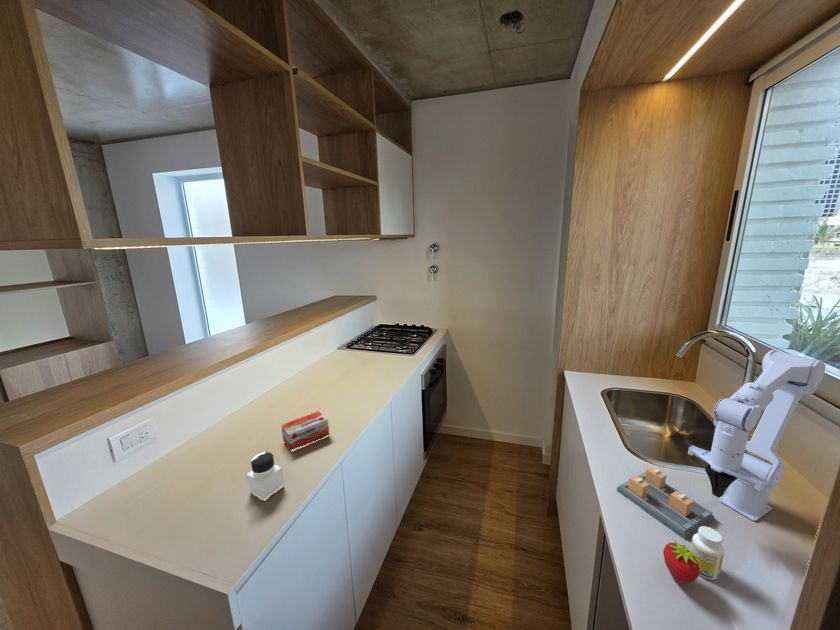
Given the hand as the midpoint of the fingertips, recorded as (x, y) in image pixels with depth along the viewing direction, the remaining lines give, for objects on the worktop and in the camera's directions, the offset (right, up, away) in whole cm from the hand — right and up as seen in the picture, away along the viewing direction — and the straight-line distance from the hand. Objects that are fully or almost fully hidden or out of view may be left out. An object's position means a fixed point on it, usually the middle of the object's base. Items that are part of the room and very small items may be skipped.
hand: (717, 494), depth 83 cm
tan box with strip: (-5, -7, +6) cm, 11 cm away
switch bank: (-7, -8, +10) cm, 14 cm away
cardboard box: (-5, -5, +15) cm, 17 cm away
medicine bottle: (-122, -9, +19) cm, 124 cm away
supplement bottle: (-10, -13, -8) cm, 18 cm away
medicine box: (-118, -3, +44) cm, 126 cm away
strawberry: (-18, -14, -10) cm, 25 cm away
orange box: (-12, -6, +12) cm, 18 cm away
